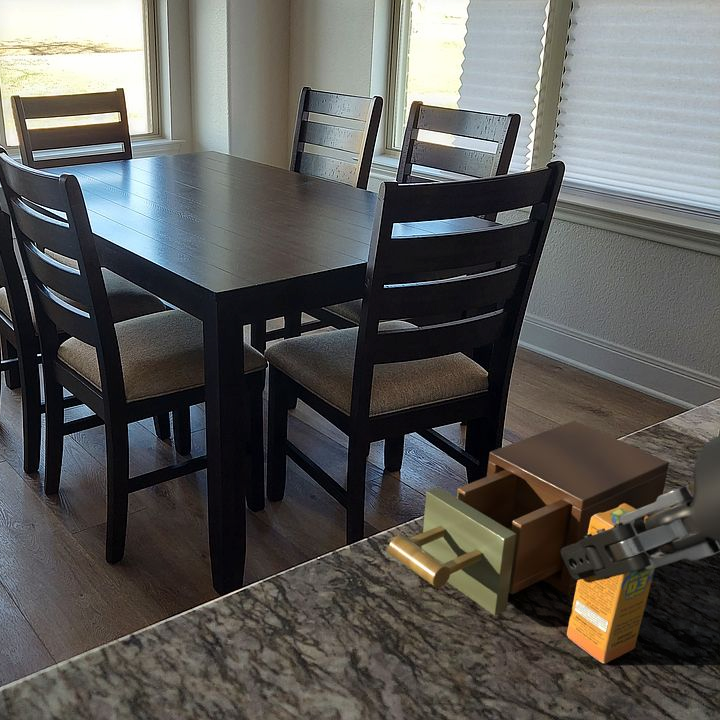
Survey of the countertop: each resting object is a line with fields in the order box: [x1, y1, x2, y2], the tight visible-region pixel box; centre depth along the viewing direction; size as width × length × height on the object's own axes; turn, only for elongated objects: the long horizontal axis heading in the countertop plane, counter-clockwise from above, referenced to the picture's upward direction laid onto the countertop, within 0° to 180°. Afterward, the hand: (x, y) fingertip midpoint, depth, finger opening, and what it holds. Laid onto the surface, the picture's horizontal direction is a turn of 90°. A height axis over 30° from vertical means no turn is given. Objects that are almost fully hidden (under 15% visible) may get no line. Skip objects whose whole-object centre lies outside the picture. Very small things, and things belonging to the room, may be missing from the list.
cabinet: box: [486, 420, 670, 596], centre depth 67 cm, size 10×9×8 cm
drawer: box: [387, 470, 573, 617], centre depth 62 cm, size 14×7×6 cm, turn 122°
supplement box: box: [566, 503, 659, 665], centre depth 56 cm, size 3×3×10 cm
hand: (591, 555), depth 57 cm, fingers closed on supplement box, 3 cm apart
